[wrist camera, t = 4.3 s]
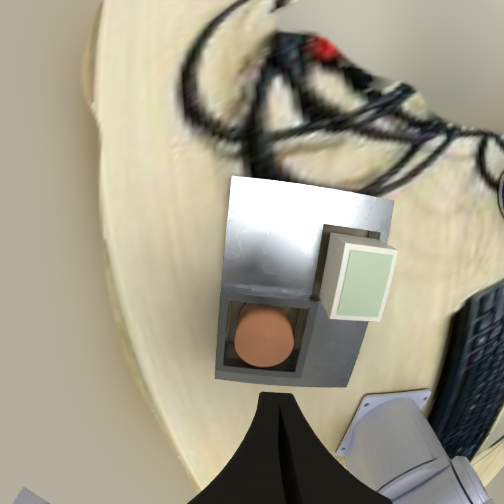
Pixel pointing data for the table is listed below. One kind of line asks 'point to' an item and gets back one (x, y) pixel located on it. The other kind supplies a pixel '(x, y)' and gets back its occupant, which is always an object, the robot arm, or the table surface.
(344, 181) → the table surface
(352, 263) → the on key
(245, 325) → the button
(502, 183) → the energy drink
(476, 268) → the table surface
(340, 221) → the panel
